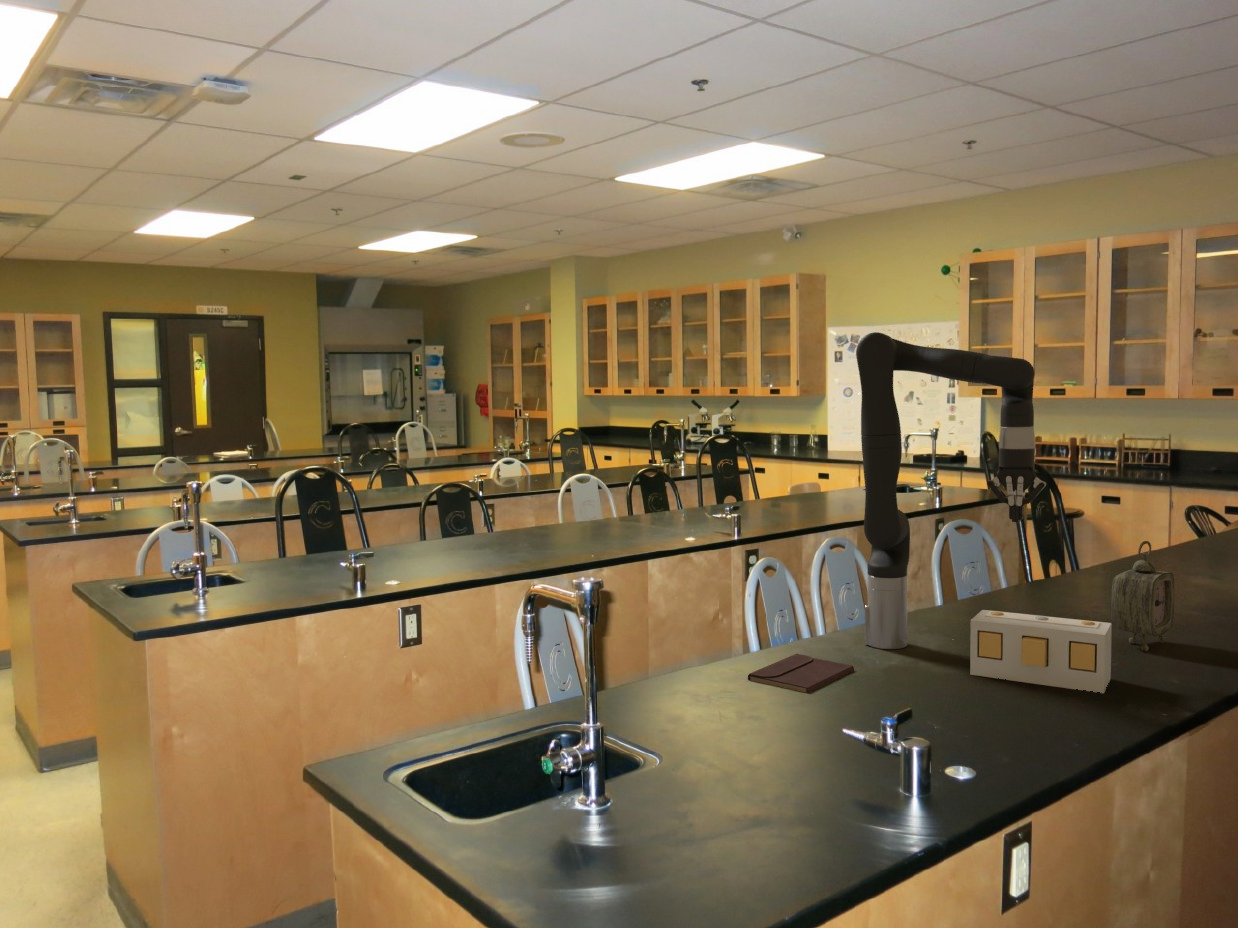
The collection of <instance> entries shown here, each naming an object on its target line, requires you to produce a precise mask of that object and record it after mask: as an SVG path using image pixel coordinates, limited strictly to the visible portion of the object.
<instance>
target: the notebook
mask: <svg viewBox="0 0 1238 928" xmlns="http://www.w3.org/2000/svg"><path fill="white" fill-rule="evenodd" d="M854 671H855V667H854V665H851V664H847V663H841V662H836V661H832V660H825V659H820V658H815V657H812V656H809V655H806V654H800V653H794V654H793V655H791V656H790V655H789V656H787V657H785V658H783V659H780V660H778V661H776V662H773V663H771V664H768V665H767V666H764V667H762V668H759V669H758V670H755V671H753V672H750V673H748V674H747V681H752V682H757V683H760V684H765V685H771V686H774V687H780V688H785V689H789V690H794V691H797V692H801V693H807V694H809V693H812V692H814V691H816V690H818V689H820V688H821V687H824V686H826V685H828V684H830V683H832V682H834V681H836V680H839V679H841V678H842V677H844V676H846V675H848V674H851V673H852V672H854Z"/></svg>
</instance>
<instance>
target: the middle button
mask: <svg viewBox="0 0 1238 928" xmlns="http://www.w3.org/2000/svg"><path fill="white" fill-rule="evenodd" d="M1022 664H1025V665H1033V666H1041V667H1045V666H1046V664H1047V639H1044V638H1036V637H1027V636H1025V637H1024V638H1023V639H1022Z"/></svg>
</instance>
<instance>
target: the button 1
mask: <svg viewBox="0 0 1238 928" xmlns="http://www.w3.org/2000/svg"><path fill="white" fill-rule="evenodd" d="M979 656H985V657H992V658H1000V659H1001V658H1002V656H1003V633H998V632H990V631H980V632H979Z"/></svg>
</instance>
